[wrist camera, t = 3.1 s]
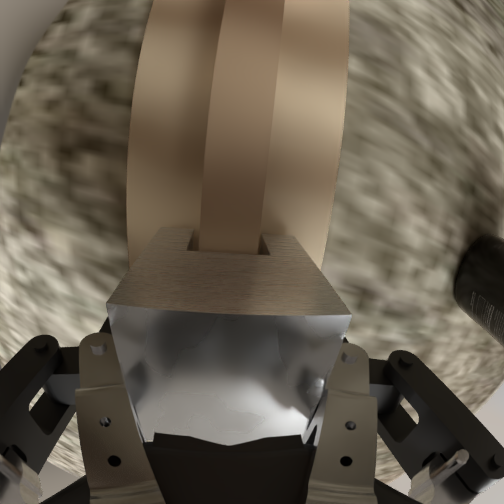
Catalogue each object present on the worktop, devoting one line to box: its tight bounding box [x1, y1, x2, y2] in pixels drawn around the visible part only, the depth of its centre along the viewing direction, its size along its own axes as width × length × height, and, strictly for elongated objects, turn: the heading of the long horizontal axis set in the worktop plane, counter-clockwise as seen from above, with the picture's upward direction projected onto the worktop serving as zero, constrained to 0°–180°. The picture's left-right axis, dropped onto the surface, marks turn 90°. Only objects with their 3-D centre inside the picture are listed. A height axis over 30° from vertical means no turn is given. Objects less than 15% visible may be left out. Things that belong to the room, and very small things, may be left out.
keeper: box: [106, 227, 352, 445], centre depth 9 cm, size 6×6×6 cm
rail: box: [126, 0, 349, 270], centre depth 8 cm, size 23×9×7 cm, turn 174°
